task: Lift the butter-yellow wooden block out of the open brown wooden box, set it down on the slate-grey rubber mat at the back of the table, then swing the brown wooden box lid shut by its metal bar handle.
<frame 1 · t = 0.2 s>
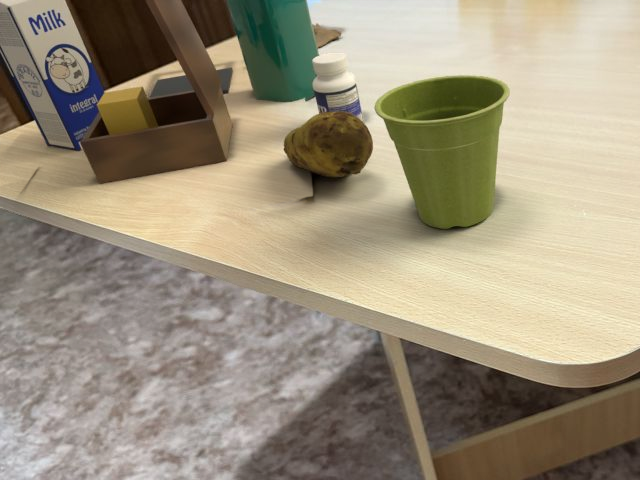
block: (145, 156, 85), point 1 cm above the table, touching brown wooden box
pitcher: (288, 96, 100), on the table
pill bottle: (345, 132, 87), on the table
plant pot: (456, 214, 67), on the table
milk carton: (87, 145, 93), on the table
jawbone: (287, 49, 120), on the table
mat: (192, 87, 108), on the table
lid: (200, 25, 77), point 14 cm above the table, hinge at 80.0°
brown wooden box: (172, 158, 86), on the table
potato: (336, 180, 76), on the table
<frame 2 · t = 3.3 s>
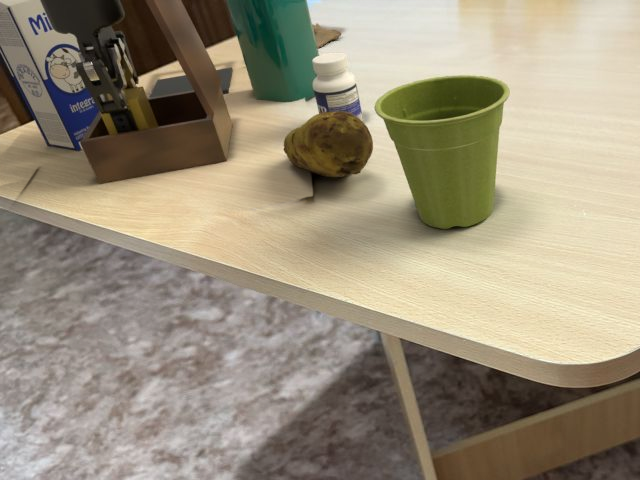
hand: (136, 134, 83), 4 cm above the table, tool pointing down, fingers closed on block, 4 cm apart
block: (145, 156, 85), point 1 cm above the table, touching brown wooden box, gripper
everything else where it was.
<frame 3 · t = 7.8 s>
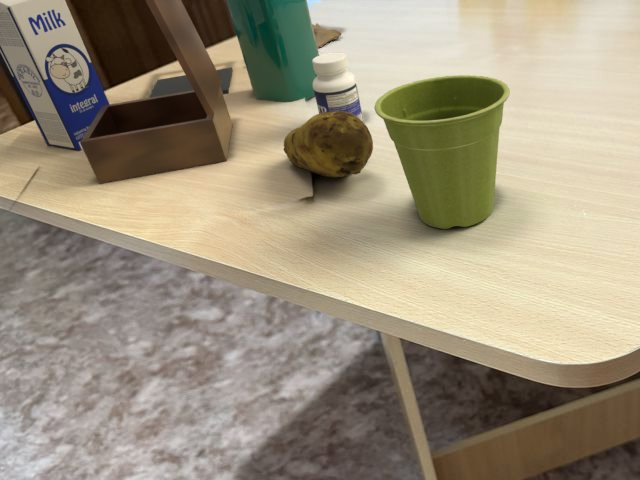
when the fingers open (3 cm above the table, at t = 12.3 s): block stays where it is, resting on mat.
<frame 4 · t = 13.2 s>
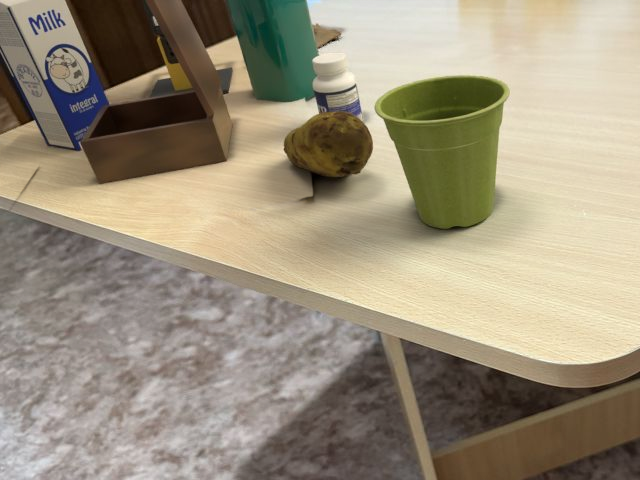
hand: (180, 55, 105), 5 cm above the table, tool pointing down, fingers open, 8 cm apart
block: (191, 84, 108), resting on mat
everything else where it was.
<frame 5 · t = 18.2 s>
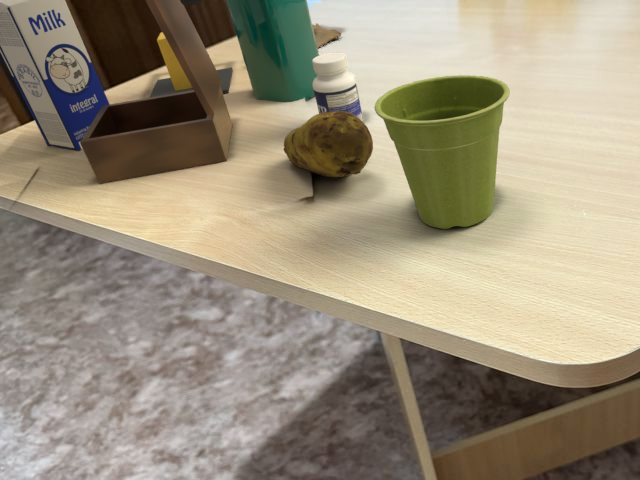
lid: (200, 25, 77), point 14 cm above the table, hinge at 80.0°, touching gripper
everything else where it was.
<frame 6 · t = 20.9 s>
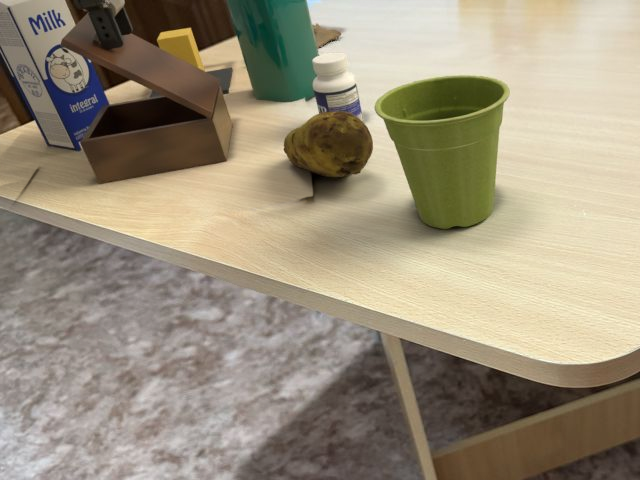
hand: (119, 40, 77), 14 cm above the table, tool pointing down, fingers closed on lid, 5 cm apart
lid: (155, 45, 78), point 13 cm above the table, hinge at 39.0°, touching gripper
everything else where it was.
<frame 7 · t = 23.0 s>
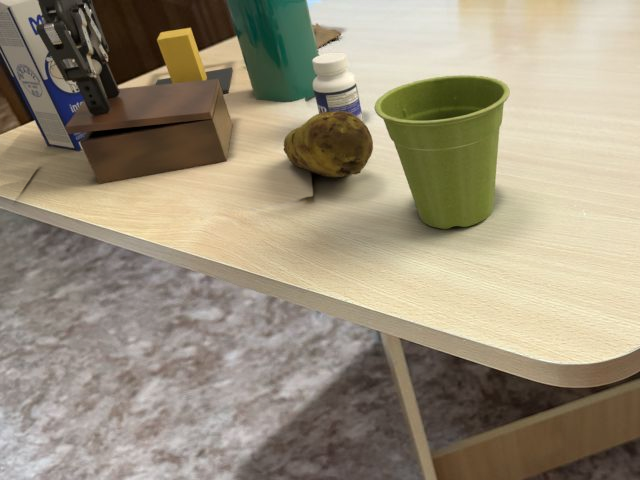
hand: (106, 104, 80), 8 cm above the table, tool pointing down, fingers closed on lid, 5 cm apart
lid: (141, 84, 80), point 9 cm above the table, hinge at 3.8°, touching gripper
everything else where it was.
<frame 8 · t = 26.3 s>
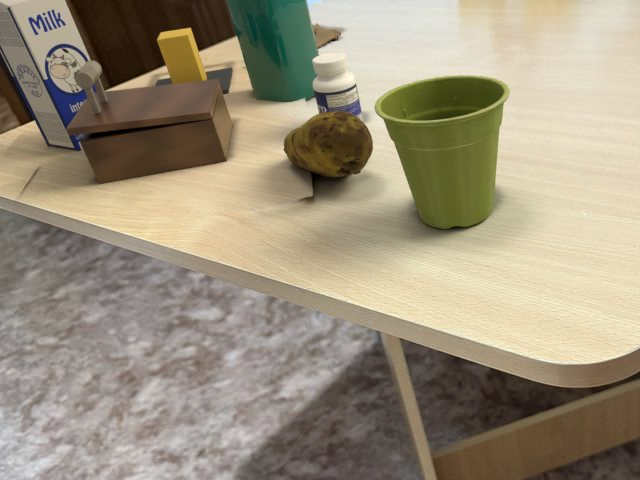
lid: (141, 85, 80), point 9 cm above the table, hinge at 3.1°
everything else where it was.
at the end: block inside the target area on the mat (0.1 cm from its centre), point 0.5 cm above the mat's base; block tilted 0°; lid at +3° (first picture: +80°) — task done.
